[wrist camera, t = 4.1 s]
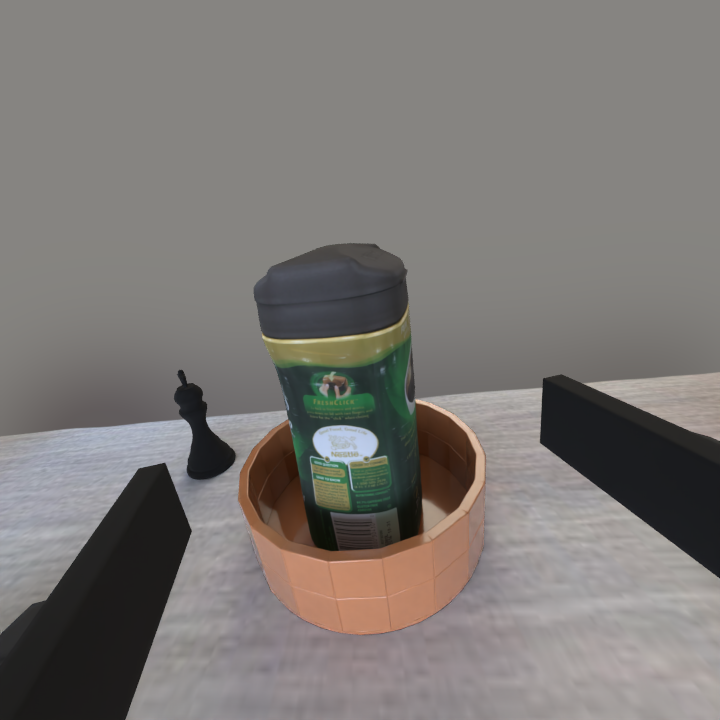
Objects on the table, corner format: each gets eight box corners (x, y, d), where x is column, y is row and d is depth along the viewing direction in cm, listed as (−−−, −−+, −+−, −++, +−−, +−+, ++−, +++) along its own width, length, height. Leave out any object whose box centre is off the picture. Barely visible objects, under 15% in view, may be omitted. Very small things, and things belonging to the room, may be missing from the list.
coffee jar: (332, 464, 30) (293, 246, 23) (422, 466, 28) (409, 232, 21) (294, 566, 21) (213, 263, 14) (422, 578, 19) (400, 242, 13)
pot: (206, 588, 21) (178, 522, 19) (319, 437, 34) (310, 390, 32) (481, 683, 15) (483, 603, 13) (485, 457, 29) (486, 401, 27)
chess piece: (193, 487, 30) (154, 386, 26) (183, 464, 33) (147, 371, 29) (242, 463, 32) (213, 368, 28) (228, 444, 35) (200, 356, 32)
